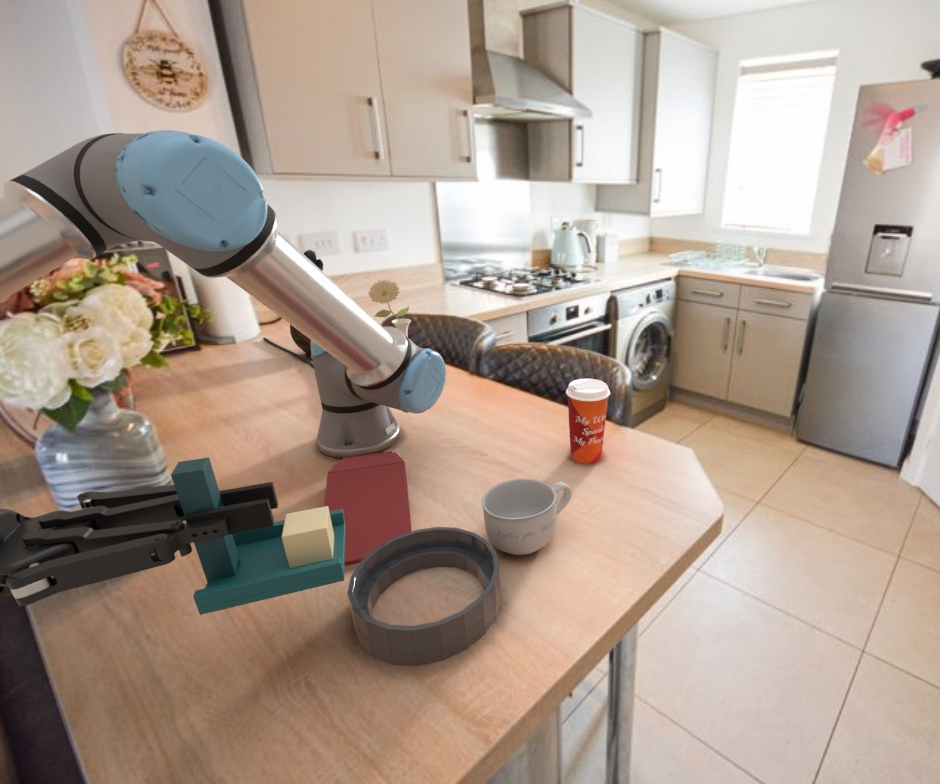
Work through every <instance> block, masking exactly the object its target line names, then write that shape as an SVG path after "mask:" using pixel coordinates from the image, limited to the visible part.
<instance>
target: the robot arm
mask: <svg viewBox="0 0 940 784" xmlns="http://www.w3.org/2000/svg"><path fill="white" fill-rule="evenodd" d="M245 160H246V159H244V158H243V157H241V155H239V154H238V153H237V152H236V151H234V150H233V149H231V148H229V147H228V146H226V145H224V144H223V143H221V142H219V141H217V140H215V139H212V138H209V137H206V136H203V135H199V134H194V133H189V132H184V131H180V130H172V129H171V130H170V129H164V130H154V131H148V132H144V133H143V132H141V133H136V132H135V133H124V132H123V133H122V132H120V133H119V132H115V133H104V134H99V135H96V136H93V137H89V138H86V139H83V140H82V141H80V142H77V143H76V144H74V145H72V146H70V147H69V148H67V149H65V150H63V151H61V152H60V153H58V154H56V155H54V156H52V157H51V158H49V159H47V160H45V161H43V162H42V163H40V164H38V165H36V166H35V167H33V168H31V169H29V170H27V171H25V172H24V173H22V174H19V175H18V176H16V177H14V178H12V179H10V180H8V181H5V182H3V184H2V190H3V191H2V192H3V193H2V194H3V195H2V197H1V198H0V303H1V302H2V301H4V300H6V299H8V298H10V297H11V296H12V295H14V294H16V293H18V292H19V291H21V290H22V289H25V287H28V286H30V285H31V284H33V283H34V282H36V281H38V280H39V279H42V277H45V276H46V275H48V274H49V273H51V272H52V271H54V270H56V269H58V268H60V267H62V266H63V265H65V264H67V263H68V262H69V261H71V260H73V259H81V260H88V261H89V260H90V261H91V260H93V259H95V258H97V257H99V256H100V255H101V254H103V253H106V252H107V251H109V250H110V249H113V248H115V247H117V246H121V245H124V244H127V243H132V242H138V241H139V242H140V241H143V242H150V243H155V244H157V245H159V246H160V247H161V248H163V249H165V250H166V251H167V252H168V253H170V254H171V255H173V256H174V257H176V258H177V259H178V260H180V261H182V262H183V263H184V264H186V265H187V266H189V267H190V268H191V269H193V270H194V271H196V272H197V273H198V274H200V275H201V276H203V277H206V278H210V279H216V278H225V277H226V278H227V279H228V280H230V281H231V282H232V283H233V284H235V285H236V286H237V287H239V288H240V289H241V290H243V291H244V292H246V293H247V294H249V295H250V296H251V297H252V298H254V299H255V300H257V301H258V302H260V304H262V305H264V306H265V308H267V309H269V310H270V311H272V312H273V313H275V315H277V316H278V317H279V318H281V319H282V320H284V321H285V322H286V323H287V324H288V325H289V326H290V325H292V326H293V327H295V328H296V329H297V330H299V331H300V332H301V333H303V334H304V335H305V336H307V337H308V338H309V339H311V359H310V360H311V361H312V362H311V361H310V360H309V359H308V358H306V357H303V356H302V355H299V354H297V353H295V352H294V351H291V350H289V349H288V348H286V347H283V346H281V345H279V344H277V343H275V342H273V341H271V340H270V339H268V338H266V337H263V338H262V340H263V341H265V342H266V343H268V344H269V345H271V346H273V347H275V348H277V349H279V350H281V351H283V352H285V353H288V354H289V355H292V356H293V357H295V358H298V359H299V360H301V361H303V362H304V363H306V364H307V365H309V367H311V368H312V369H314V374H315V379H316V385H317V391H318V395H319V399H320V400H319V401H320V405H321V416H320V421H319V426H318V433H317V437H316V440H317V444H318V449H319V451H320V452H321V453H322V454H324V455H326V456H329V457H332V458H339V459H340V458H341V459H343V458H347V457H354V456H361V455H368V454H375V453H381V452H384V451H385V450H387V449H388V448H390V447H392V446H394V444H396V443H397V442H398V440H399V439H400V436H401V432H400V431H401V430H400V424H399V423H398V420H397V419H396V417H395V415H394V413H393V411H392V410H391V409H395V410H399V411H401V412H403V413H406V414H408V413H410V414H423V413H426V412H427V411H428V410H430V409H431V408H433V406H434V405H435V404H437V402H438V400H439V399H440V397H441V395H442V393H443V391H444V388H445V384H446V380H447V379H446V375H447V367H446V363H445V361H444V358H443V357H442V356H441V354H440V353H439V352H438V351H435V350H433V349H431V348H428V347H427V348H422V347H421V346H418V345H417V344H416V343H414V341H412V340H411V339H410V338H409V337H407V336H406V335H405V334H404V333H402V332H401V331H400V330H399V329H397V328H396V327H395V326H383V325H382V324H381V323H379V322H378V321H377V320H376V319H375V318H374V317H373V316H372V315H371V314H370V313H368V312H367V311H366V310H365V309H364V308H363V307H362V306H361V305H360V304H359V303H357V301H355V300H354V299H353V298H352V297H351V295H349V294H348V293H346V291H345V290H343V289H342V288H341V287H340V286H339V285H338V284H337V283H336V282H335V281H334V280H332V279H331V278H330V276H329V275H327V273H325V272H324V271H323V270H322V271H321V270H320V269H319V268H318V267H317V266H316V265H315V264H314V263H313V262H312V261H310V260H309V259H308V258H307V257H306V256H305V255H304V252H302V251H301V250H300V249H299V248H298V247H297V246H295V245H294V244H293V243H292V242H291V241H290V240H289V239H288V238H286V236H285V235H284V234H282V233H281V231H279V230H278V215H277V213H276V211H275V210H274V209H273V208H272V207H271V205H269V204H268V201H267V199H265V197H264V192H265V188H264V187H263V184H262V182H261V180H260V178H259V176H258V175H257V173H256V172H255V170H254V169H253V168H252V167H251V166H250V165H249V163H247V161H245ZM219 492H220V495H221V498H222V502H223V505H224V506H223V507H217V508H213V509H207V510H201V511H196V512H190V513H187V514H186V516H185V515H184V512H183V509H182V506H181V503H180V500H179V497H178V495H177V492H176V489H175V486H174V484H168V485H160V486H151V487H150V486H149V487H143V488H142V487H141V488H132V489H125V490H115V491H108V492H107V491H96V490H95V491H92V490H89V491H84V492H82V493H80V494H78V495H77V496H76V498H77V500H78V504H76V505H74V506H73V507H71V508H69V509H68V510H64V509H63V510H62V509H60V510H53V511H50V512H47V513H45V514H42V515H41V514H40V515H37V516H33V517H31V516H30V517H29V516H25V515H23V514H21V513H19V512H17V511H15V510H13V509H9V508H0V599H5V598H7V597H10V596H12V597H13V598H14V599H15V601H16V603H17V605H18V606H19V607H25V606H29V605H31V604H34V603H37V602H39V601H41V600H44V599H46V598H48V597H51V596H55V595H56V594H59V593H61V592H66V591H70V590H74V589H77V588H81V587H86V586H89V585H93V584H96V583H100V582H103V581H107V580H112V579H114V578H119V577H123V576H126V575H131V574H134V573H138V572H142V571H146V570H150V569H153V568H158V567H161V566H165V565H168V564H170V563H172V562H174V561H175V560H176V555H175V554H176V553H177V552H178V551H179V555H180V557H186V556H188V555H190V554H191V553H192V551H193V547H192V545H191V544H194V542H198V541H203V540H208V539H213V538H219V537H223V536H225V535H230V534H235V533H240V532H245V531H250V530H255V529H261V528H266V527H271V526H273V525H274V522H275V519H274V515H273V510H275V509H278V507H279V502H278V496H277V494H276V488H275V485H274V482H273V481H269V482H264V483H257V484H252V485H246V486H239V487H233V488H229V489H228V488H227V489H222V490H219ZM184 522H185V523H184Z"/></svg>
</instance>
